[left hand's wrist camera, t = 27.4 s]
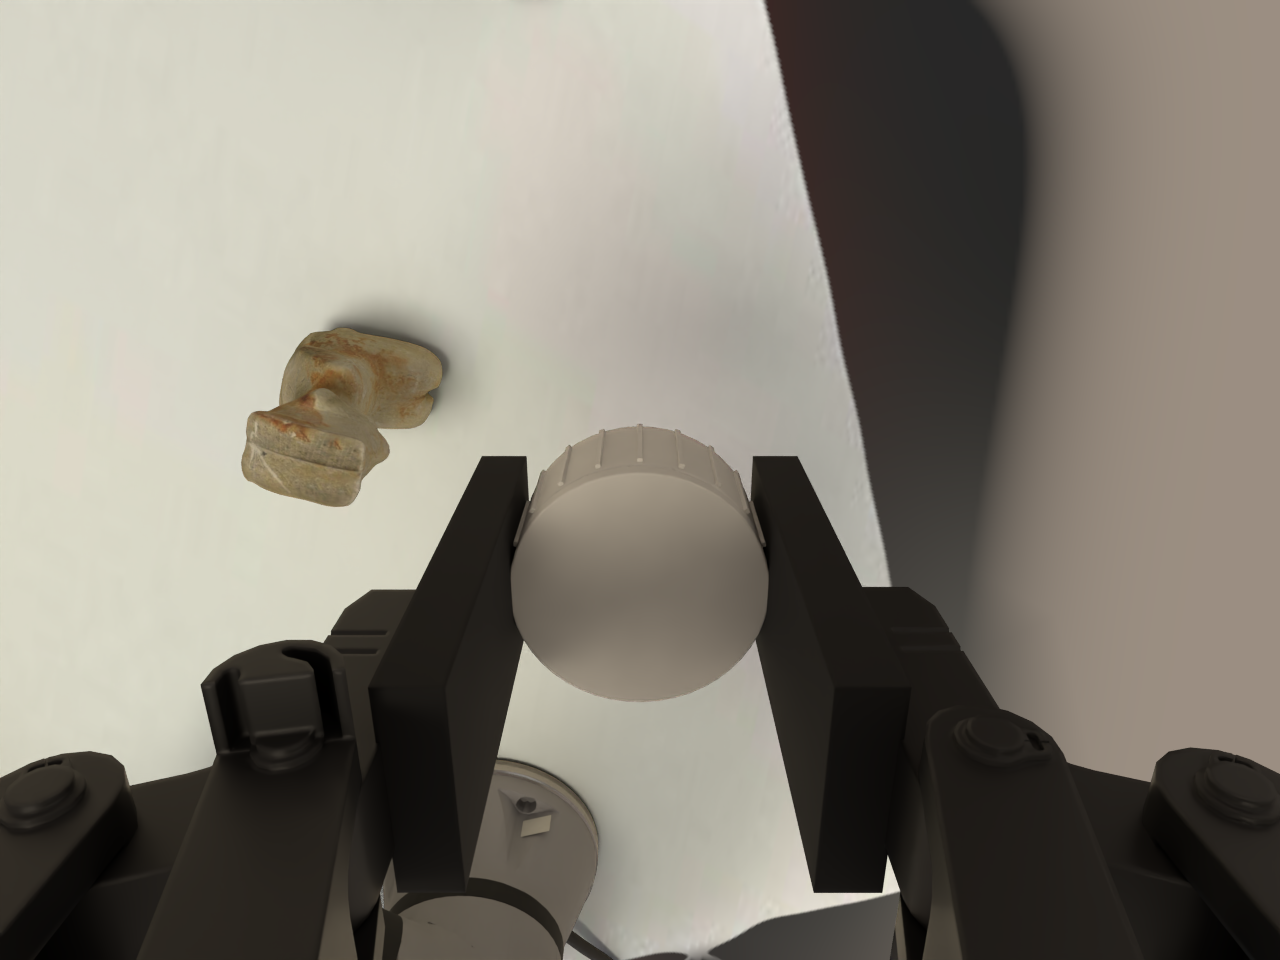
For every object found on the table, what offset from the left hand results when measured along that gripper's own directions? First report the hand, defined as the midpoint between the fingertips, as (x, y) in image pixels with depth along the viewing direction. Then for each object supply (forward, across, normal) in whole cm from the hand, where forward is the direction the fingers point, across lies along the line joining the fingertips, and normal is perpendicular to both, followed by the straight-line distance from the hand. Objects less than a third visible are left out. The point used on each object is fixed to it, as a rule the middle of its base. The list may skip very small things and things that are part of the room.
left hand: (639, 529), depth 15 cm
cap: (-2, 0, 0) cm, 2 cm away
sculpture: (+34, +15, +6) cm, 38 cm away
